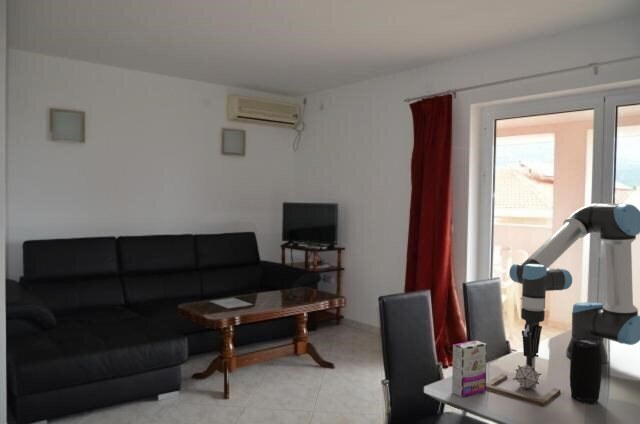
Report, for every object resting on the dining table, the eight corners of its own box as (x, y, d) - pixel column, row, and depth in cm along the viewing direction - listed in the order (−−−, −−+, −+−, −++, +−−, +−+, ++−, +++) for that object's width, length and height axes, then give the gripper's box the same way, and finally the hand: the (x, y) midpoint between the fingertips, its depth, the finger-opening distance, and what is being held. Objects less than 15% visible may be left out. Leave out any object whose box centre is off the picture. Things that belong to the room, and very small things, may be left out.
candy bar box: (474, 387, 165) (476, 339, 165) (486, 392, 161) (488, 343, 161) (450, 392, 160) (452, 343, 160) (461, 398, 156) (463, 347, 155)
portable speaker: (604, 400, 157) (607, 341, 156) (591, 407, 151) (593, 345, 151) (577, 391, 164) (580, 334, 163) (563, 398, 158) (566, 338, 158)
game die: (533, 400, 165) (548, 383, 159) (509, 391, 165) (524, 373, 159) (529, 379, 172) (544, 362, 166) (507, 370, 172) (520, 353, 167)
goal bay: (501, 377, 176) (501, 373, 176) (560, 393, 162) (560, 389, 162) (482, 388, 164) (482, 384, 164) (543, 406, 151) (543, 403, 151)
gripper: (529, 304, 176) (526, 367, 177) (515, 309, 167) (512, 376, 168) (550, 307, 171) (547, 373, 172) (537, 313, 162) (534, 382, 163)
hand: (530, 374), depth 170 cm, fingers closed
